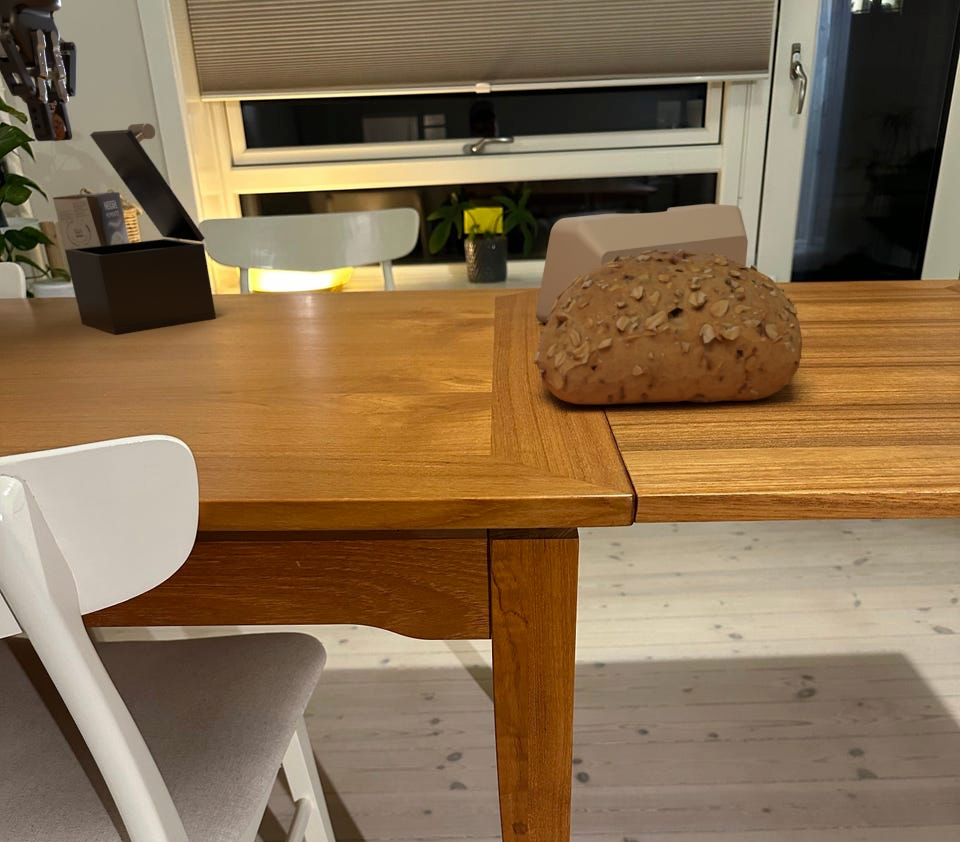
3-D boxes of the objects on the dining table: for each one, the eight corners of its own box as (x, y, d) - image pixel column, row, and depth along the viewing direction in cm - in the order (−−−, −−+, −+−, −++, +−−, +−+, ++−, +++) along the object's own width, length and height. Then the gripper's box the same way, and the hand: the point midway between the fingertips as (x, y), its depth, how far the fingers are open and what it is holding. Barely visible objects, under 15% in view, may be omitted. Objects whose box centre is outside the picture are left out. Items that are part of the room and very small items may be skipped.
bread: (756, 354, 101) (767, 232, 95) (819, 407, 82) (838, 259, 77) (526, 364, 101) (524, 242, 96) (537, 419, 83) (535, 272, 77)
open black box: (115, 334, 127) (98, 255, 122) (82, 323, 135) (64, 249, 131) (216, 318, 135) (203, 243, 130) (178, 309, 143) (165, 238, 139)
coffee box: (121, 315, 140) (95, 195, 133) (78, 317, 141) (50, 197, 133) (143, 304, 148) (120, 191, 141) (102, 306, 149) (77, 193, 141)
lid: (125, 132, 119) (154, 109, 120) (89, 134, 128) (117, 113, 129) (201, 242, 130) (227, 219, 131) (162, 237, 138) (187, 216, 140)
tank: (607, 344, 109) (610, 225, 103) (533, 324, 121) (532, 217, 115) (771, 316, 119) (783, 207, 113) (688, 300, 131) (694, 201, 125)
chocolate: (38, 141, 108) (29, 101, 106) (42, 141, 110) (33, 102, 108) (66, 140, 109) (57, 100, 107) (69, 140, 111) (61, 101, 109)
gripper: (4, -56, 95) (48, 141, 103) (81, -37, 107) (116, 138, 115) (-62, -50, 96) (-13, 143, 104) (22, -32, 108) (60, 140, 116)
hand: (54, 139), depth 110 cm, fingers closed on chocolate, 2 cm apart
